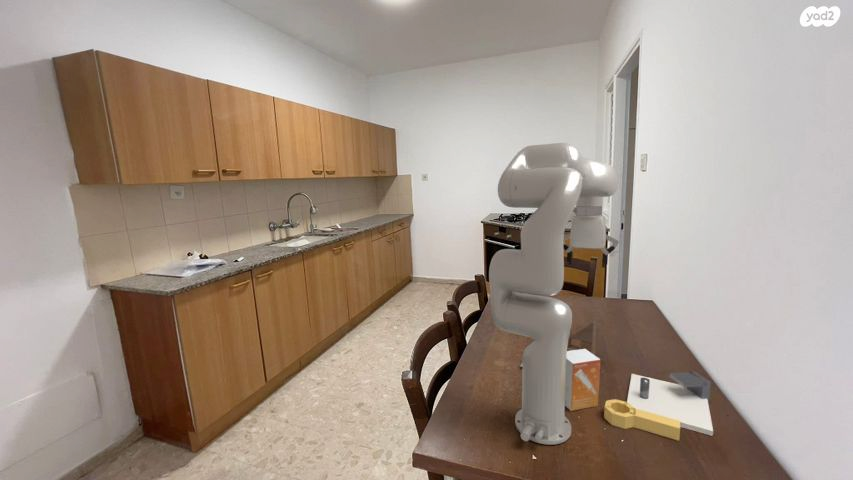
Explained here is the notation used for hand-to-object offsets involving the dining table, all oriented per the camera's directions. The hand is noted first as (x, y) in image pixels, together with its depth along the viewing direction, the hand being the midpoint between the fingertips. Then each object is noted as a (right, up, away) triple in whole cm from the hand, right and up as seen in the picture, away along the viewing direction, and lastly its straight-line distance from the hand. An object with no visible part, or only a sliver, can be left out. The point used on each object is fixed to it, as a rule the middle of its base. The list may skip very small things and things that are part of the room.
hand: (586, 265), depth 114 cm
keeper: (+17, -33, -21) cm, 43 cm away
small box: (-12, -34, -21) cm, 42 cm away
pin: (+5, -34, -21) cm, 40 cm away
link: (-1, -35, -30) cm, 47 cm away
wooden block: (-3, -30, +2) cm, 31 cm away
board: (+10, -34, -23) cm, 42 cm away
